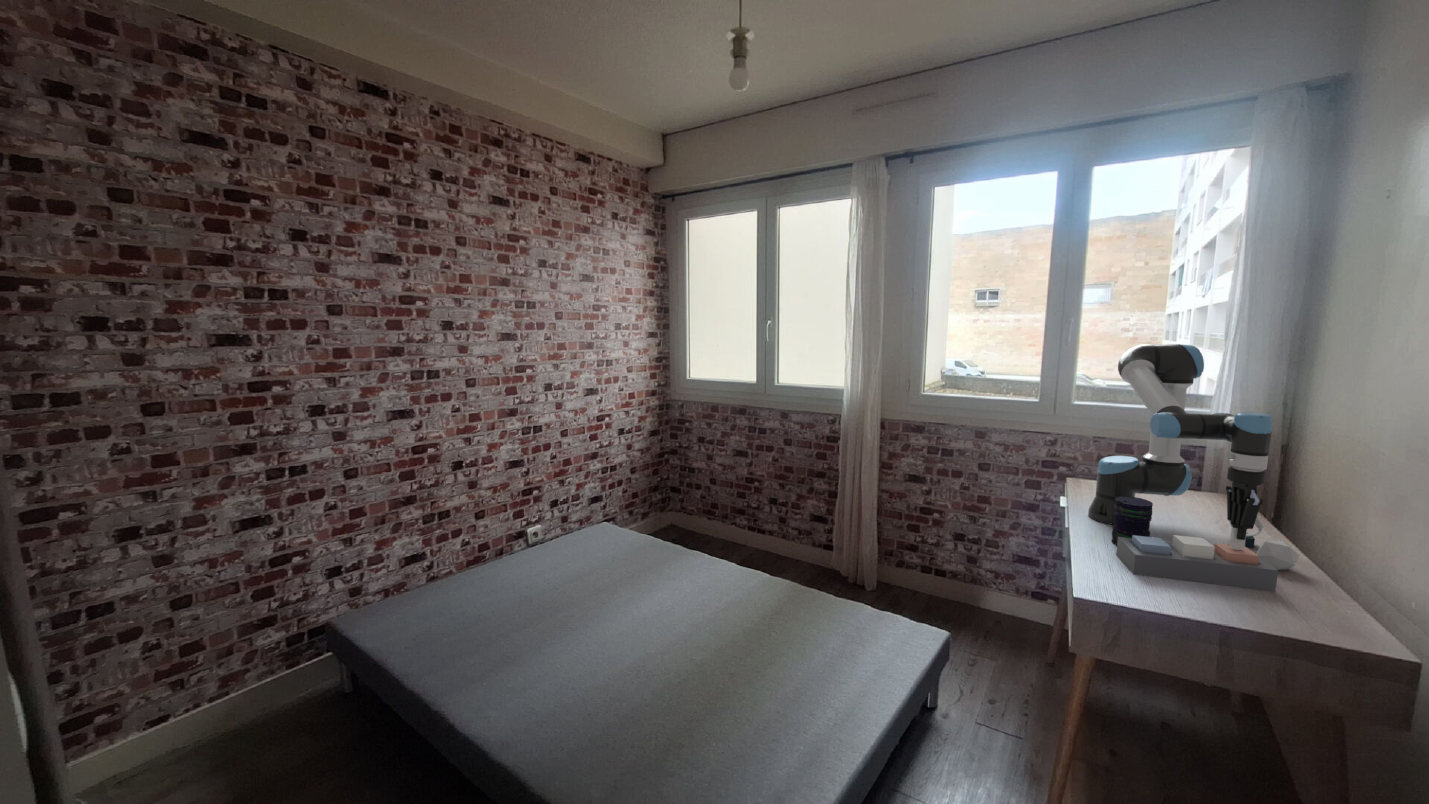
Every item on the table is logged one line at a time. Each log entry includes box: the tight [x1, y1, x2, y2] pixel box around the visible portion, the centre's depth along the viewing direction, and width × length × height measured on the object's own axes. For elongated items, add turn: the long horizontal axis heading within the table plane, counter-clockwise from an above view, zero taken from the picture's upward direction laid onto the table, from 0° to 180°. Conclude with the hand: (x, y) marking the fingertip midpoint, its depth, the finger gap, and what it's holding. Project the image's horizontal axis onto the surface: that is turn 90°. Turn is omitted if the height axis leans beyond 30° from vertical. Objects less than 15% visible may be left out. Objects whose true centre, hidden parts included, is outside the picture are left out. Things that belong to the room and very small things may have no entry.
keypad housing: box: [1115, 537, 1279, 592], centre depth 157 cm, size 14×32×6 cm, turn 70°
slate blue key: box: [1132, 535, 1171, 555], centre depth 160 cm, size 7×7×5 cm
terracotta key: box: [1213, 543, 1260, 564], centre depth 154 cm, size 7×7×5 cm
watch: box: [1228, 516, 1264, 549], centre depth 176 cm, size 6×8×11 cm
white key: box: [1171, 534, 1215, 559], centre depth 157 cm, size 7×7×5 cm
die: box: [1255, 540, 1301, 571], centre depth 159 cm, size 8×9×10 cm
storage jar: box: [1111, 496, 1154, 546], centre depth 176 cm, size 10×10×15 cm
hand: (1236, 548), depth 153 cm, fingers closed
